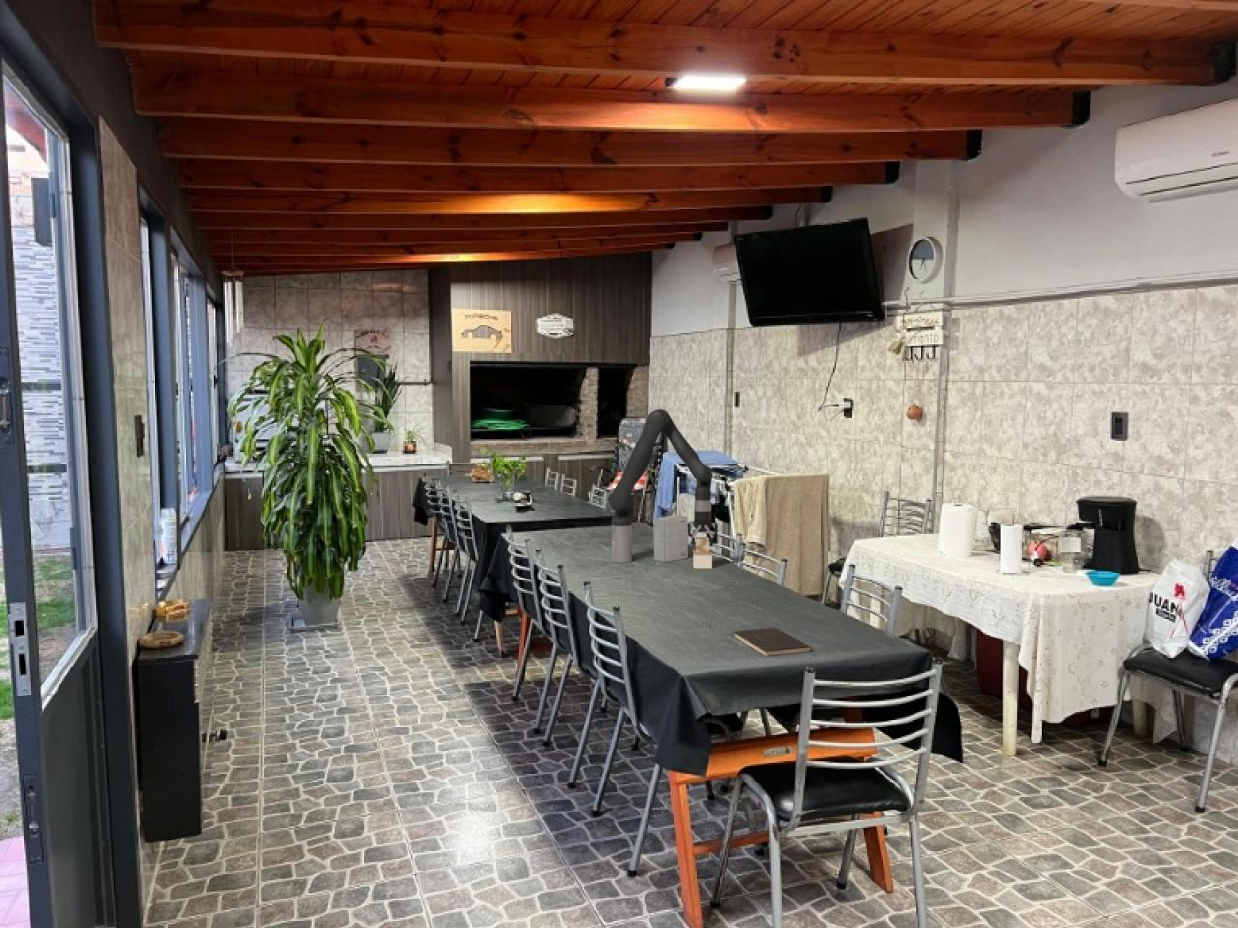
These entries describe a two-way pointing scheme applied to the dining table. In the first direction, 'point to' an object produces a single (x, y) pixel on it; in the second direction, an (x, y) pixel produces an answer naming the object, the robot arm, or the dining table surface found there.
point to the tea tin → (702, 559)
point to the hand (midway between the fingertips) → (702, 545)
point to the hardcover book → (771, 641)
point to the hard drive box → (670, 538)
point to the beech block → (702, 544)
